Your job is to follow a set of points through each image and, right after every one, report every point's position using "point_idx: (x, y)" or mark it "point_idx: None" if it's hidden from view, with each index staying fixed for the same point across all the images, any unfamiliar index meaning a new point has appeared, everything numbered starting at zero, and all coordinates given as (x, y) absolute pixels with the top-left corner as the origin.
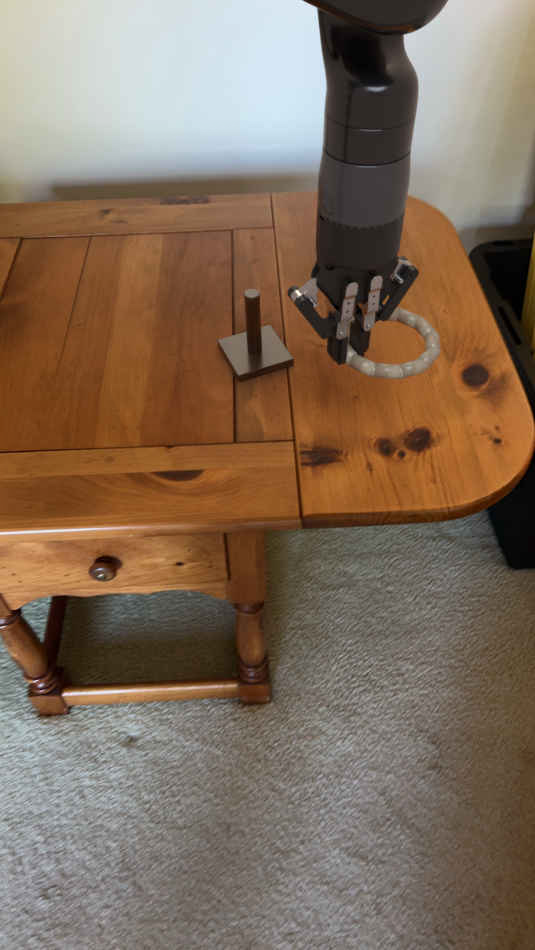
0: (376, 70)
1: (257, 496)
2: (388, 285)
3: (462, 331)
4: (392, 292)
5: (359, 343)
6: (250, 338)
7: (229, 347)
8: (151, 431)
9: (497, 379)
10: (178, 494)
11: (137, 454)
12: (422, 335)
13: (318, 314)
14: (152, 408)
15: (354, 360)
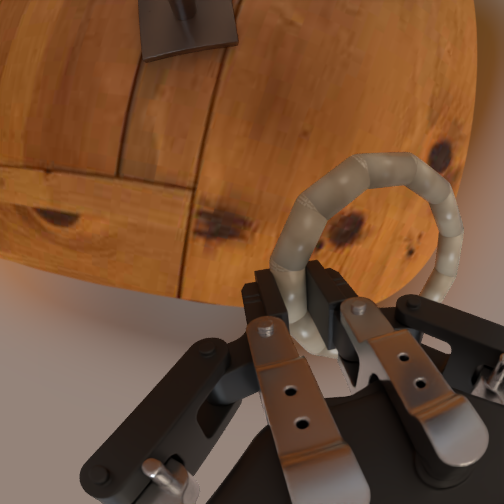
0: None
1: (134, 266)
2: (464, 364)
3: (454, 89)
4: (450, 383)
5: (317, 327)
6: (172, 7)
7: (149, 4)
8: (32, 143)
9: (452, 172)
10: (57, 243)
11: (20, 178)
12: (438, 263)
13: (197, 468)
14: (37, 104)
15: (290, 331)
